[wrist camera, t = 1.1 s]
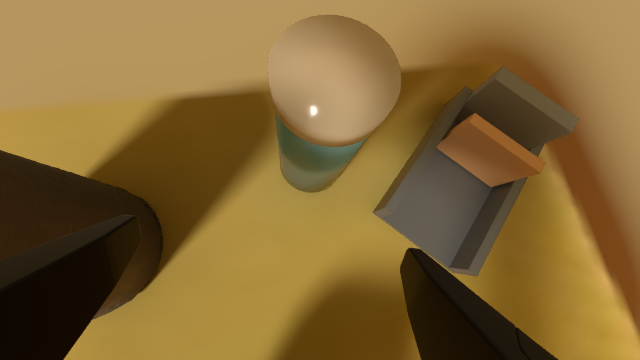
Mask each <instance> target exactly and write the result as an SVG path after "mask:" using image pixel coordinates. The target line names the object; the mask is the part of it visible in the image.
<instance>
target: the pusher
mask: <svg viewBox="0 0 640 360" xmlns="http://www.w3.org/2000/svg"><path fill="white" fill-rule="evenodd" d="M436 148H437V149H439V150H440V151H441V152H443V153H444V154H446V155H447V156H448V157H450V158H451V159H452V160H454V161H455V162H457V163H458V164H459V165H461V166H462V167H464V168H465V169H466V170H468V171H469V172H470V173H472V174H473V175H475V176H476V177H477V178H479V179H480V180H481V181H483V182H484V183H486V184H487V185H488V186H490V187H494V186H497V185H501V184H504V183H508V182H511V181H514V180H518V179H521V178H525V177H528V176H532V175H535V174H539V173H541V171H542V169H543V167H544V165H545V162H544V161H542V160H541V159H539V158H538V157H537V156H535V155H534V154H532V153H531V152H530V151H528V150H527V149H525V148H524V147H522V146H521V145H520V144H518V143H517V142H515V141H514V140H513V139H511V138H510V137H508V136H507V135H506V134H504V133H503V132H501V131H500V130H498V129H497V128H496V127H494V126H493V125H491V124H490V123H489V122H487V121H486V120H484V119H483V118H481V117H480V116H479V115H477V114H476V113H474V114H473V115H471V116H470V117H468V118H467V119H466V120H464V121H463V122H461V123H460V124H459V125H457V126H456V127H454V128H453V129H452V130H450V131H449V132H447V133H446V134H445V135H444V137H443V138H442V140H441V141H440V143H439V144H438V146H437V147H436Z"/></svg>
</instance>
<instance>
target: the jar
mask: <svg viewBox="0 0 640 360" xmlns="http://www.w3.org/2000/svg"><path fill="white" fill-rule="evenodd" d="M268 80H269V88H270V96H271V101H272V104H273V107H274V110H275V116H276V126H277V137H278V147H279V158H280V167H281V171H282V174H283V176H284V178H285V179H286V181H287V182H288V183H289V184H290V185H291V186H293V187H294V188H296V189H298V190H300V191H304V192H311V193H312V192H319V191H322V190H325V189H327V188H328V187H330V186H331V185H332V184H333V183H334V182H335V181H336V179H337V178H338V177H339V175H340V174H341V173H342V171H343V170H344V169H345V167H346V166H347V164H348V163H349V162H350V160H351V159H352V158H353V156H354V155H355V154H356V152H357V151H358V149H359V148H360V147H361V145H362V144H363V143H364V141H365V140H366V139H367V137H369V136H370V135H371V134H372V133H374V132H375V131H376V130H377V128H378V127H379V126H380V125H381V124H382V122H383V121H384V120H385V118H386V117H387V116H388V114H389V113H390V112H391V110H392V109H393V107H394V106H395V104H396V102H397V100H398V97H399V94H400V90H401V71H400V66H399V63H398V60H397V58H396V56H395V53H394V52H393V50H392V48H391V47H390V45H389V44H388V43H387V42H386V41H385V39H384V38H382V36H381V35H380V34H378V33H377V32H376V31H375V30H373V29H372V28H370V27H369V26H367V25H365V24H363V23H361V22H359V21H357V20H354V19H351V18H347V17H343V16H337V15H318V16H313V17H309V18H306V19H303V20H300V21H298V22H296V23H294V24H293V25H291V26H290V27H288V28H287V29H286V30H285V31H284V32H283V33H282V34H281V35H280V36H279V37H278V38H277V40H276V41H275V43H274V45H273V47H272V49H271V51H270V55H269V59H268Z"/></svg>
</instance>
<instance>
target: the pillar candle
mask: <svg viewBox="0 0 640 360" xmlns="http://www.w3.org/2000/svg"><path fill="white" fill-rule="evenodd" d="M120 215H133V216H137V217H138V218H139V222H140V228H141V234H142V240H141V243H140V245H139V247H138V249H137V250H136V252H135V254H134V256H133V257H132V259H131V261H130V263H129V264H128V266H127V268H126V270H125V271H124V273H123V275H122V277H121V278H120V280H119V282H118V283H117V285H116V287H115V288H114V290H113V291H112V292H111V294H110V295H109V297H108V298H107V299H106V301H105V302H104V304H103V305H102V306H101V308H100V309H99V311H98V312H97V313H96V315H95V316H94V318H93V319H96V318H98V317H100V316H102V315H105V314H107V313H109V312H111V311H113V310H115V309H117V308H119V307H120V306H122V305H123V304H125V303H127V302H129V301H131V300H132V299H133V298H134V297H135V296H136V295H137V294H138V293H139V292H140V291H141V290H142V288H143V287H144V286H145V285H146V283H147V282H148V281H149V279H150V278H151V276H152V275H153V273H154V271H155V269H156V267H157V264H158V262H159V260H160V256H161V251H162V235H161V233H162V232H161V226H160V223H159V220H158V218H157V216H156V215H155V212H154V211H153V210H152V208H151V207H150V205H149V204H148V203H147V202H146V201H145V200H144V199H142V198H141V197H140V198H138V197H136V196H135V195H132V194H130V193H128V191H126V190H124V189H121V188H118V187H114V186H111V185H108V184H104V183H101V182H99V181H96V180H93V179H89V178H86V177H83V176H80V175H77V174H74V173H72V172H67V171H64V170H61V169H59V168H55V167H51V166H48V165H45V164H41V163H38V162H36V161H33V160H29V159H26V158H23V157H20V156H17V155H13V154H10V153H7V152H4V151H1V150H0V260H2V259H5V258H7V257H10V256H13V255H15V254H18V253H21V252H23V251H26V250H29V249H31V248H34V247H37V246H40V245H42V244H45V243H48V242H50V241H53V240H56V239H58V238H61V237H64V236H66V235H69V234H72V233H74V232H77V231H80V230H82V229H85V228H88V227H91V226H93V225H96V224H99V223H101V222H104V221H107V220H109V219H112V218H115V217H117V216H120ZM93 319H92V320H93Z"/></svg>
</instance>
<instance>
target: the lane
mask: <svg viewBox="0 0 640 360" xmlns="http://www.w3.org/2000/svg"><path fill="white" fill-rule="evenodd" d="M474 113H476V114H477V115H479V116H480V117H481V118H483V119H484V120H486V121H487V122H489V123H490V124H491V125H493V126H494V127H496V128H497V129H498V130H500V131H501V132H503V133H504V134H506V135H507V136H508V137H510V138H511V139H513V140H514V141H515V142H517V143H518V144H520V145H521V146H522V147H524V148H525V149H527V150H528V151H530V152H531V153H532V154H534V155H535V156H537V157H538V155H539V153H540V151H541V149H542V148H543V146H544V144H545V143H548V142H550V141H553V140H555V139H558V138H560V137H563V136H565V135H568V134H570V133H572V132H573V130H574V128H575V126H576V124H577V122H578V120H579V118H577V117H576V116H574V115H573V114H571V113H570V112H569V111H567V110H566V109H564V108H563V107H561V106H560V105H558V104H557V103H555V102H554V101H552V100H551V99H550V98H548V97H547V96H545V95H544V94H542V93H541V92H540V91H538V90H537V89H535V88H534V87H532V86H531V85H530V84H528V83H526V82H525V81H524V80H522V79H521V78H519V77H518V76H517V75H515V74H514V73H512V72H511V71H509V70H508V69H506V68H505V67H504V66H503V67H501V68H500V69H499V70H498V71H497V72H495V73H494V74H493V75H492V76H491V77H489V78H488V79H487V80H486V81H485V82H483V83H482V84H481V85H480V86H479V87H477V88H476V89H475V90H474V91H472V90H471V89H469V88H468V87H466V86H465V87H464V88H463V89H462V90H461V91H460V92H459V93H458V94H456V95H455V96H454V97H453V98H452V99H451V100H450V101H449V102H447V104H446V105H445V106H444V108H443V109H442V111H441V112H440V114H439V115H438V117H437V118H436V120H435V121H434V123H433V124H432V126H431V127H430V129H429V130H428V132H427V133H426V135H425V136H424V138H423V139H422V140H421V142H420V143H419V145H418V146H417V148H416V149H415V151H414V152H413V154H412V155H411V157H410V158H409V160H408V161H407V163H406V164H405V166H404V167H403V169H402V170H401V171H400V173H399V174H398V176H397V177H396V179H395V180H394V182H393V183H392V185H391V186H390V188H389V189H388V191H387V192H386V194H385V195H384V197H383V198H382V200H381V201H380V202H379V204H378V205H377V207H376V208H375V210H374V211H373V213H374V214H376V215H377V216H378V217H380V218H381V219H382V220H384V221H385V222H386V223H388V224H389V225H390V226H392V227H393V228H394V229H396V230H397V231H398V232H400V233H401V234H402V235H404V236H405V237H406V238H408V239H409V240H410V241H412V242H413V243H414V244H416V245H417V246H418V247H420V248H421V249H422V250H424V251H425V252H426V253H428V254H429V255H430V256H432V257H433V258H434V259H436V260H437V261H438V262H440V263H441V264H442V265H444V266H445V267H446V268H448V269H449V270H450V271H452V272H453V273H458V274H465V275H471V276H477V275H478V273H479V271H480V269H481V268H482V266H483V264H484V262H485V260H486V258H487V256H488V254H489V252H490V250H491V248H492V246H493V244H494V242H495V240H496V238H497V236H498V234H499V232H500V230H501V228H502V226H503V224H504V222H505V220H506V218H507V216H508V214H509V212H510V210H511V208H512V207H513V205H514V203H515V201H516V199H517V197H518V195H519V193H520V191H521V189H522V187H523V185H524V183H525V181H526V179H527V177H525V178H521V179H518V180H514V181H511V182H508V183H504V184H501V185H497V186H494V187H490V186H488V185H487V184H486V183H484V182H483V181H481V180H480V179H479V178H477V177H476V176H475V175H473V174H472V173H470V172H469V171H468V170H466V169H465V168H464V167H462V166H461V165H459V164H458V163H457V162H455V161H454V160H452V159H451V158H450V157H448V156H447V155H446V154H444V153H443V152H441V151H440V150H439V149H437V148H436V147H437V146H438V144H439V143H440V141H441V140H442V138H443V137H444V135H445V134H446V133H447V132H449V131H450V130H452V129H453V128H454V127H456V126H457V125H459V124H460V123H461V122H463V121H464V120H466V119H467V118H468V117H470V116H471V115H473V114H474Z"/></svg>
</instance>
